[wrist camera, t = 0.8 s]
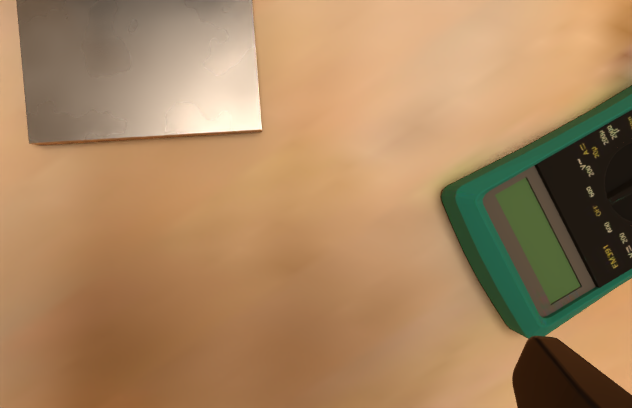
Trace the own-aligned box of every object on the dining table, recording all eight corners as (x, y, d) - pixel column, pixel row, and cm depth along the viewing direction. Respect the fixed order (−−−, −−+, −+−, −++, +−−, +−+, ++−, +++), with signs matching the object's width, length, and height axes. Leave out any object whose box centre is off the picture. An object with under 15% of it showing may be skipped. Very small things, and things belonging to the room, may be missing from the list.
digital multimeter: (762, 178, 27) (824, 177, 24) (502, 333, 26) (535, 352, 23) (697, 41, 26) (753, 23, 23) (428, 193, 25) (451, 193, 22)
